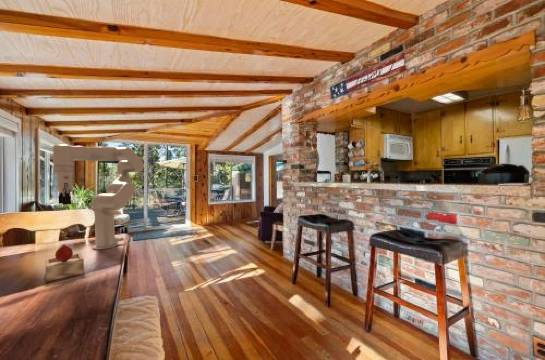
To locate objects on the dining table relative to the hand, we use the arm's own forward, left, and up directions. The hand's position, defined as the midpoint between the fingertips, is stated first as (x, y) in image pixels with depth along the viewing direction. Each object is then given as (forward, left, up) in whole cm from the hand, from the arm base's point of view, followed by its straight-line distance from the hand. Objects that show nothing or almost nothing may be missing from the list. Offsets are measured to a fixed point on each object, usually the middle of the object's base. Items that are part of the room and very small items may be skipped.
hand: (64, 203), depth 123 cm
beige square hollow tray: (+4, +21, -29) cm, 36 cm away
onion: (+4, +21, -24) cm, 32 cm away
